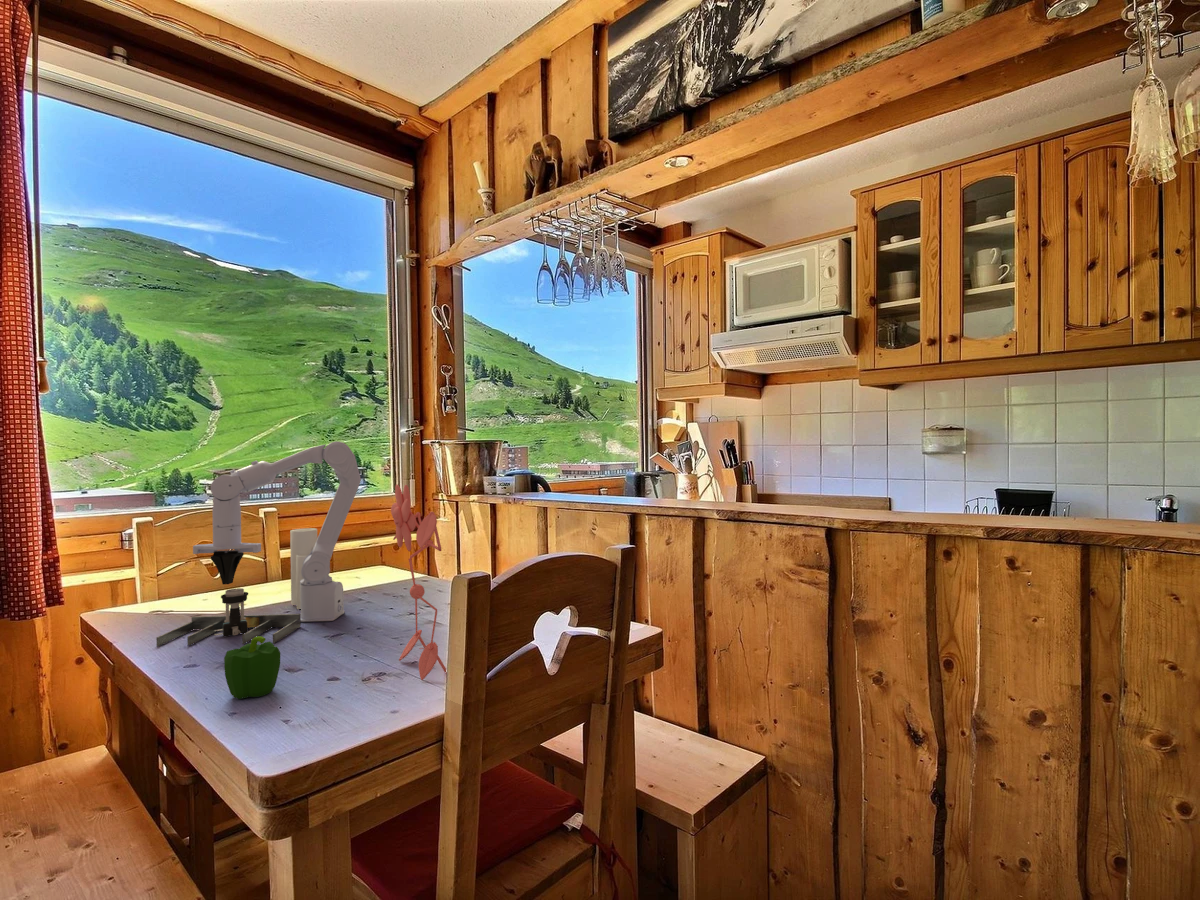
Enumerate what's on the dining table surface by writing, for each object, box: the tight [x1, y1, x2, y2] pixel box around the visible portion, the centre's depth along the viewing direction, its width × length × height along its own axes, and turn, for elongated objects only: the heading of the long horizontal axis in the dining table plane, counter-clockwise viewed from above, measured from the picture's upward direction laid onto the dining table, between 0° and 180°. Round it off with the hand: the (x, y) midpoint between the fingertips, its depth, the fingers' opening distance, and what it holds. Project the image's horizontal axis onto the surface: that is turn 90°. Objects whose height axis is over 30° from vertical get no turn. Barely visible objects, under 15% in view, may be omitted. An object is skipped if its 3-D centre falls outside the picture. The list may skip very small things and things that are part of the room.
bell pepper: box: [223, 635, 281, 700], centre depth 103 cm, size 8×8×10 cm
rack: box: [156, 613, 302, 647], centre depth 136 cm, size 25×13×3 cm, turn 93°
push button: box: [214, 587, 249, 637], centre depth 138 cm, size 7×5×10 cm
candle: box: [289, 527, 318, 610], centre depth 164 cm, size 11×7×20 cm, turn 41°
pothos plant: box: [390, 483, 447, 681], centre depth 112 cm, size 15×26×35 cm, turn 32°
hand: (227, 583), depth 143 cm, fingers closed
